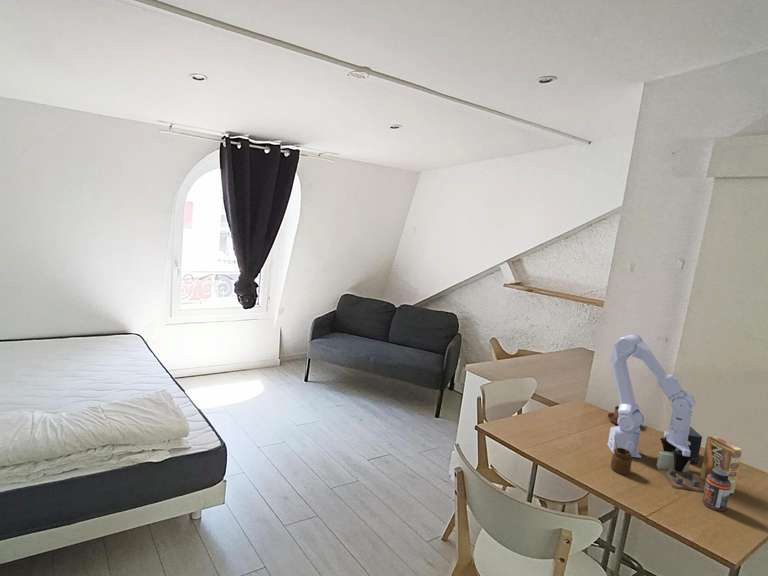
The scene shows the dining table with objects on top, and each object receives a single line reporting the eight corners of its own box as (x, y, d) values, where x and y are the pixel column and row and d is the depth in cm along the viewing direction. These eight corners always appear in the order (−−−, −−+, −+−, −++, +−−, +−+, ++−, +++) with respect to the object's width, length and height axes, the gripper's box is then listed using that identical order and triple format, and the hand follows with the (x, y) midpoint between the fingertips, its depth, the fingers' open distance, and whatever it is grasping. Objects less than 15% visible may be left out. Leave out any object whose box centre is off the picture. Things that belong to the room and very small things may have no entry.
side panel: (672, 487, 141) (673, 479, 141) (658, 470, 151) (660, 463, 150) (713, 493, 139) (714, 486, 138) (697, 476, 149) (698, 469, 148)
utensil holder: (631, 476, 146) (637, 443, 144) (611, 472, 147) (616, 439, 146) (627, 467, 151) (632, 435, 149) (607, 463, 153) (612, 431, 151)
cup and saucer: (621, 415, 196) (623, 402, 195) (645, 428, 185) (647, 414, 184) (600, 417, 192) (602, 404, 191) (623, 430, 181) (625, 416, 180)
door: (659, 469, 151) (662, 453, 151) (656, 466, 154) (659, 450, 153) (687, 474, 150) (690, 457, 149) (684, 470, 152) (687, 454, 151)
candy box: (734, 493, 140) (743, 449, 137) (724, 494, 139) (732, 450, 136) (708, 477, 148) (716, 435, 146) (698, 478, 147) (706, 436, 145)
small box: (698, 464, 157) (703, 436, 156) (679, 461, 158) (683, 434, 157) (685, 449, 167) (689, 424, 166) (666, 447, 169) (670, 421, 167)
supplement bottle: (696, 499, 135) (703, 465, 133) (714, 499, 136) (721, 466, 134) (712, 512, 129) (719, 477, 127) (731, 512, 130) (738, 477, 128)
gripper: (703, 440, 142) (696, 478, 144) (681, 421, 156) (675, 456, 158) (679, 437, 143) (673, 475, 145) (660, 418, 157) (654, 453, 159)
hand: (672, 465), depth 151 cm, fingers open, 7 cm apart
